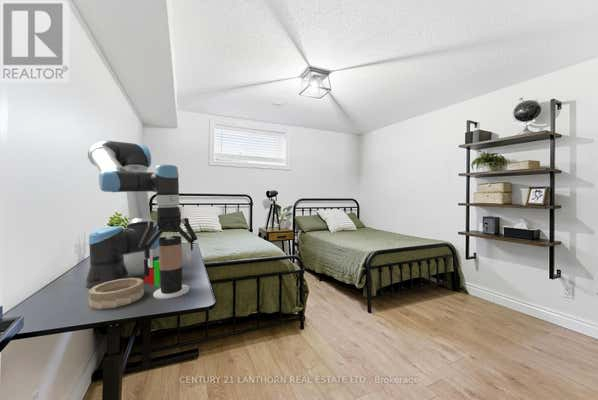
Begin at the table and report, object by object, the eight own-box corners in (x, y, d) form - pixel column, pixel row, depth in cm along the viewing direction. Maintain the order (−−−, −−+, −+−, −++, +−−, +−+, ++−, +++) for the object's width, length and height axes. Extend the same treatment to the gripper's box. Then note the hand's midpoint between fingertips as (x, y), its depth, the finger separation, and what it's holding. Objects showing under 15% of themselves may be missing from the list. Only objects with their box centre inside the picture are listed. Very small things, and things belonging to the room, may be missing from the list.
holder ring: (86, 300, 89) (85, 286, 89) (136, 287, 101) (135, 275, 101) (94, 313, 79) (93, 297, 79) (149, 297, 90) (148, 284, 90)
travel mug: (174, 294, 91) (172, 239, 90) (155, 293, 92) (153, 239, 91) (187, 286, 98) (185, 235, 98) (169, 286, 99) (167, 235, 99)
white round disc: (148, 293, 95) (148, 291, 95) (181, 284, 103) (181, 282, 103) (160, 302, 86) (160, 299, 86) (194, 291, 95) (194, 289, 95)
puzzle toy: (166, 275, 115) (166, 254, 115) (181, 278, 111) (180, 256, 110) (144, 282, 107) (143, 259, 106) (159, 286, 102) (158, 262, 102)
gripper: (132, 208, 82) (135, 273, 83) (204, 205, 101) (206, 257, 101) (126, 208, 87) (128, 268, 88) (196, 204, 106) (198, 254, 106)
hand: (170, 263), depth 95 cm, fingers open, 13 cm apart
